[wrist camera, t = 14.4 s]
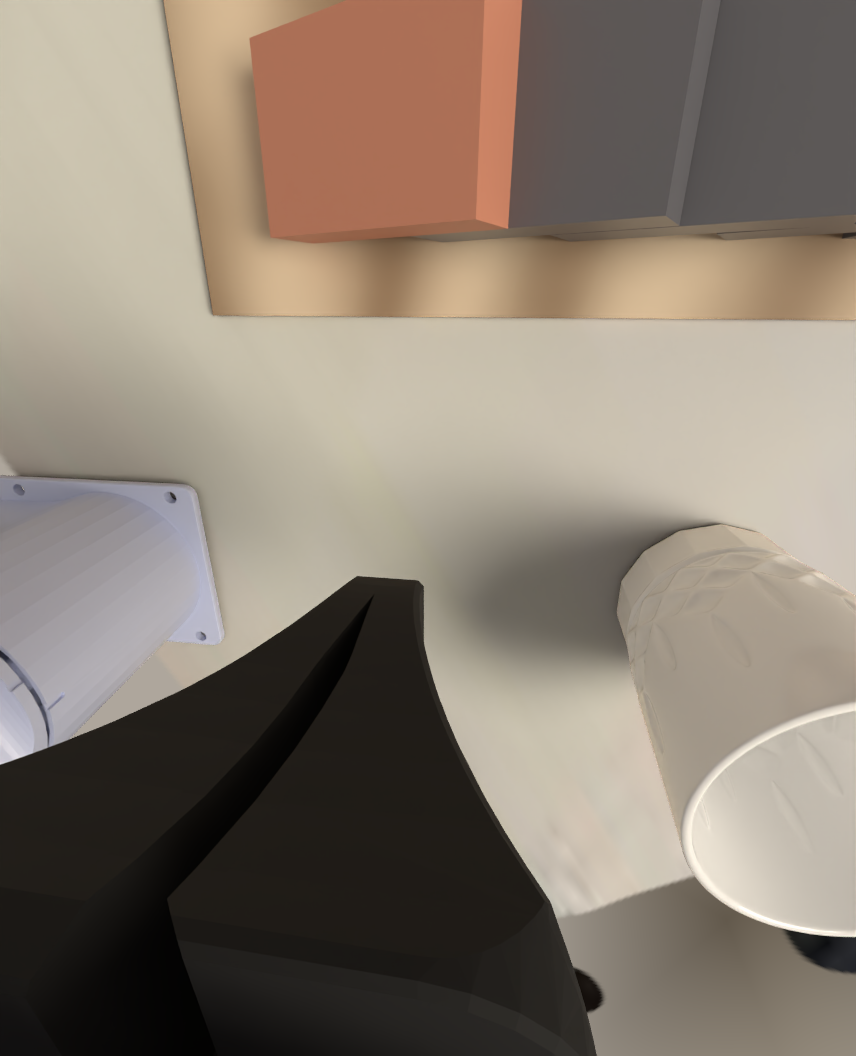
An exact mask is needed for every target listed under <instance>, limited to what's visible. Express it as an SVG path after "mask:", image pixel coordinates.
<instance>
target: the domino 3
mask: <svg viewBox="0 0 856 1056" xmlns="http://www.w3.org/2000/svg"><path fill="white" fill-rule="evenodd" d="M842 239H856V232H852V233H843V236H842Z"/></svg>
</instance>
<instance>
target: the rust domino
mask: <svg viewBox="0 0 856 1056" xmlns="http://www.w3.org/2000/svg"><path fill="white" fill-rule="evenodd" d="M521 11H522V0H346V1H343V2H340V3H338V4H335V5H333V6H330V7H328V8H325V9H322V10H320V11H317V12H315V13H312V14H310V15H307V16H304V17H302V18H299V19H297V20H294V21H292V22H289V23H287V24H284V25H281V26H279V27H276V28H274V29H271V30H269V31H266V32H263V33H261V34H258V35H256V36H253V37H251V38H249V40H250V49H251V59H252V68H253V78H254V87H255V96H256V106H257V115H258V124H259V134H260V143H261V152H262V162H263V171H264V181H265V190H266V199H267V209H268V218H269V227H270V237H271V238H276V239H284V240H291V241H298V242H305V243H312V244H315V243H328V242H341V241H354V240H367V239H381V238H394V237H407V236H420V235H433V234H446V233H459V232H472V231H485V230H499V229H508V220H509V204H510V188H511V172H512V156H513V140H514V124H515V108H516V92H517V76H518V60H519V43H520V27H521Z"/></svg>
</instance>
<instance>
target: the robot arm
mask: <svg viewBox="0 0 856 1056" xmlns="http://www.w3.org/2000/svg"><path fill="white" fill-rule="evenodd" d="M21 486H22V487H23V488H24V490H25V491H24V490H23V489H22V487H21ZM170 492H172V493H173V494H174V495H175V496H176V500H174V499H173V498H172V497H171V495H170ZM201 632H203V633H204V634H205V635H206V636H205V635H203V634H202V633H201ZM224 635H225V633H224V628H223V623H222V618H221V613H220V608H219V603H218V598H217V593H216V587H215V582H214V577H213V572H212V567H211V562H210V557H209V552H208V547H207V542H206V537H205V532H204V526H203V521H202V516H201V511H200V506H199V501H198V496H197V493H196V491H195V490H194V489H193V488H192V487H191V486H189V485H186V484H172V483H151V482H130V481H109V480H88V479H67V478H46V477H25V476H4V475H1V476H0V1056H597V1055H596V1050H595V1045H594V1041H593V1036H592V1032H591V1028H590V1023H589V1019H588V1016H587V1012H586V1009H585V1005H584V1001H583V998H582V994H581V991H580V988H579V985H578V981H577V978H576V975H575V972H574V969H573V966H572V963H571V960H570V957H569V954H568V951H567V948H566V945H565V942H564V940H563V937H562V934H561V931H560V929H559V925H558V923H557V920H556V917H555V914H554V911H553V908H552V905H551V903H550V901H549V899H548V898H547V896H546V894H545V893H544V891H543V890H542V888H541V887H540V885H539V884H538V882H537V881H536V879H535V878H534V876H533V875H532V873H531V872H530V870H529V869H528V867H527V866H526V864H525V863H524V861H523V860H522V858H521V857H520V855H519V853H518V852H517V850H516V849H515V847H514V845H513V844H512V842H511V841H510V839H509V838H508V836H507V834H506V833H505V831H504V829H503V828H502V826H501V824H500V822H499V821H498V819H497V817H496V816H495V814H494V812H493V810H492V809H491V807H490V805H489V804H488V802H487V800H486V798H485V797H484V795H483V793H482V791H481V789H480V787H479V785H478V783H477V781H476V779H475V777H474V775H473V773H472V771H471V769H470V767H469V765H468V763H467V761H466V759H465V757H464V755H463V753H462V751H461V749H460V748H459V745H458V743H457V741H456V739H455V736H454V734H453V732H452V729H451V727H450V725H449V722H448V720H447V717H446V715H445V712H444V709H443V707H442V704H441V702H440V699H439V696H438V693H437V690H436V687H435V684H434V681H433V677H432V674H431V670H430V667H429V663H428V659H427V655H426V651H425V646H424V586H423V585H422V584H421V583H420V582H419V581H417V580H403V579H390V578H376V577H362V576H357V577H355V578H354V579H352V580H351V581H349V582H348V583H347V584H345V585H344V586H343V587H341V588H340V589H339V590H337V591H336V592H335V593H333V594H332V595H331V596H330V597H328V598H327V599H326V600H324V601H323V602H322V603H320V604H319V605H318V606H316V607H315V608H313V609H312V610H311V611H309V612H308V613H307V614H305V615H304V616H303V617H301V618H300V619H298V620H297V621H296V622H294V623H293V624H292V625H290V626H289V627H287V628H286V629H284V630H283V631H281V632H280V633H278V634H276V635H275V636H273V637H272V638H270V639H269V640H267V641H266V642H264V643H263V644H261V645H260V646H258V647H257V648H255V649H254V650H252V651H251V652H249V653H248V654H246V655H244V656H243V657H241V658H239V659H238V660H236V661H234V662H233V663H231V664H229V665H227V666H226V667H224V668H222V669H221V670H219V671H217V672H215V673H213V674H211V675H209V676H208V677H206V678H204V679H202V680H200V681H198V682H196V683H195V684H193V685H191V686H189V687H187V688H185V689H183V690H181V691H179V692H177V693H175V694H173V695H171V696H168V697H167V698H164V699H162V700H160V701H157V702H155V703H153V704H151V705H149V706H147V707H144V708H142V709H140V710H138V711H136V712H134V713H131V714H129V715H127V716H125V717H123V718H121V719H119V720H116V721H114V722H112V723H109V724H107V725H104V726H102V727H99V728H97V729H94V730H92V731H89V732H87V733H84V734H82V735H79V736H77V737H74V738H72V739H70V738H71V737H72V736H73V734H75V733H76V732H77V731H78V730H79V729H80V728H81V727H82V726H83V724H85V722H87V721H88V719H89V718H90V717H92V715H93V714H94V713H95V712H96V711H97V710H98V709H99V708H100V707H101V706H102V705H103V704H104V703H105V702H106V701H107V700H108V699H109V698H110V697H111V696H112V695H113V694H114V693H115V692H116V691H117V690H118V689H119V688H120V687H121V686H122V685H123V684H124V683H125V682H126V681H127V680H128V679H129V678H130V677H131V676H132V675H133V674H134V673H135V672H136V671H137V670H138V669H139V668H140V667H141V666H142V665H143V664H144V663H145V662H146V661H147V660H148V659H149V658H150V657H151V656H152V655H153V654H154V653H155V652H156V651H157V650H158V649H159V648H160V647H161V646H162V644H163V643H164V642H165V641H172V642H184V643H195V644H207V645H217V644H219V643H220V642H221V641H222V640H223V638H224Z"/></svg>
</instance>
